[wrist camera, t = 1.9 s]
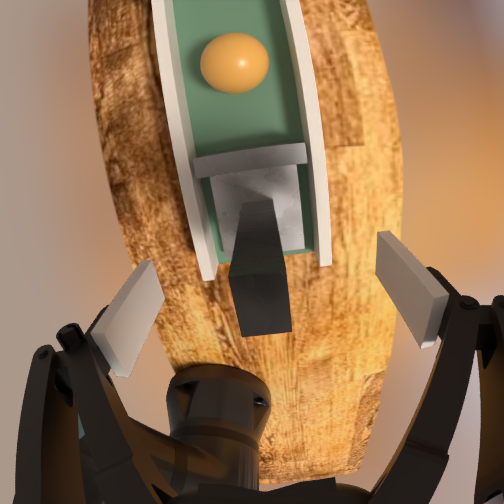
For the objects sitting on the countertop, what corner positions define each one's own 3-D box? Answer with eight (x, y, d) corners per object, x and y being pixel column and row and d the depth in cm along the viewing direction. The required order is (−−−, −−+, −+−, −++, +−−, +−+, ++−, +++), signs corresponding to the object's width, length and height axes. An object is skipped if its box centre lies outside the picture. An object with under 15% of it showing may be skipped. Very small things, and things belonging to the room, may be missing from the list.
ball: (259, 103, 21) (259, 97, 16) (199, 91, 20) (185, 82, 16) (274, 50, 19) (278, 31, 14) (215, 38, 18) (205, 18, 14)
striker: (308, 243, 26) (345, 341, 14) (221, 254, 26) (195, 357, 15) (298, 140, 22) (343, 156, 10) (201, 154, 23) (142, 187, 11)
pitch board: (321, 243, 28) (331, 264, 23) (210, 257, 28) (203, 280, 24) (266, -76, 13) (267, -98, 9) (160, -57, 14) (147, -76, 9)
